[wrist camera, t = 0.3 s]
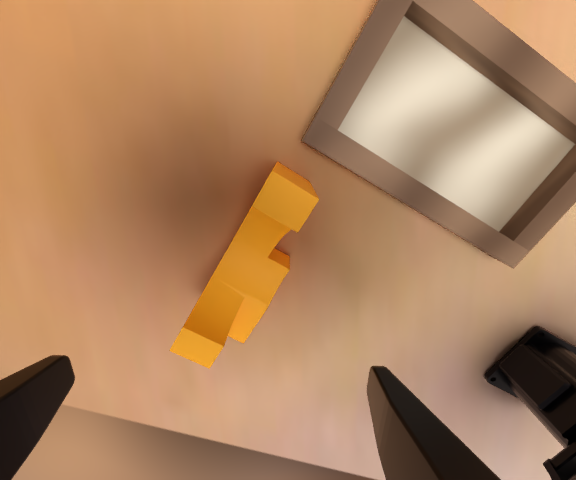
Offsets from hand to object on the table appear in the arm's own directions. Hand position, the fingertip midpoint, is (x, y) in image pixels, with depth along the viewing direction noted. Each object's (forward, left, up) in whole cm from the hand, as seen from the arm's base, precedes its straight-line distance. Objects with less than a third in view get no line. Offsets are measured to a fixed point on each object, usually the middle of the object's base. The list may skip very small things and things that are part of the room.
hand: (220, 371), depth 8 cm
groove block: (-8, -12, -13) cm, 19 cm away
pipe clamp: (0, +1, -13) cm, 13 cm away
